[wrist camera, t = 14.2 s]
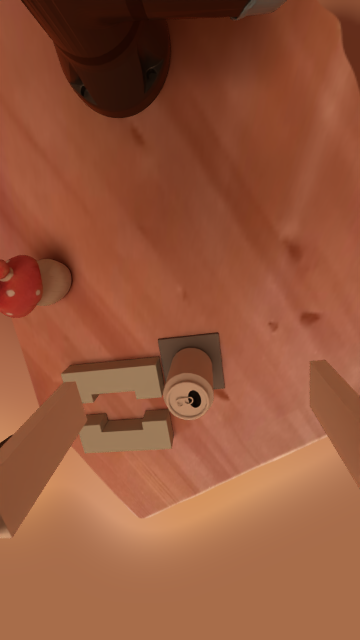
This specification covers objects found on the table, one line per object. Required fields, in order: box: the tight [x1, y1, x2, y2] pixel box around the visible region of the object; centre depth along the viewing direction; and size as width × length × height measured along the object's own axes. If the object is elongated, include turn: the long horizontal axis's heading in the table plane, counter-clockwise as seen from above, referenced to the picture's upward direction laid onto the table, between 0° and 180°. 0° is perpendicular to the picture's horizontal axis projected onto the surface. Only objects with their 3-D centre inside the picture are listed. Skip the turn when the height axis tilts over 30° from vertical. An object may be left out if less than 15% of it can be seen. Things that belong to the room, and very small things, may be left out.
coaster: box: [158, 333, 225, 389], centre depth 48 cm, size 11×11×1 cm
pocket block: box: [61, 357, 174, 453], centre depth 51 cm, size 18×18×4 cm
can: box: [163, 348, 214, 420], centre depth 42 cm, size 8×8×12 cm
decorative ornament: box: [0, 255, 72, 318], centre depth 39 cm, size 9×6×15 cm
